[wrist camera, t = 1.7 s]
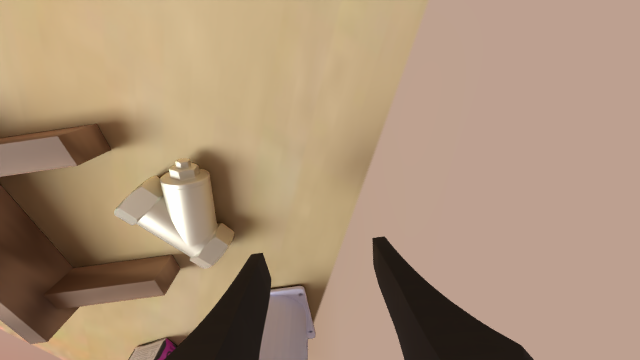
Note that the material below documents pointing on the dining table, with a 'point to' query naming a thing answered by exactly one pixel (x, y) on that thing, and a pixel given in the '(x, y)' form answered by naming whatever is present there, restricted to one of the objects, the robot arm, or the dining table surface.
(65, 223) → the dining table surface
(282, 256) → the dining table surface
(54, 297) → the fitting jig
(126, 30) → the dining table surface
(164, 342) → the candy bar box
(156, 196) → the pipe fitting
